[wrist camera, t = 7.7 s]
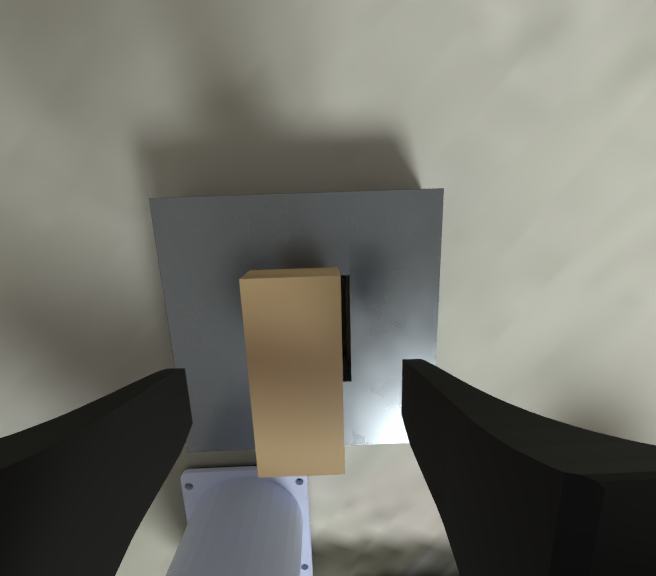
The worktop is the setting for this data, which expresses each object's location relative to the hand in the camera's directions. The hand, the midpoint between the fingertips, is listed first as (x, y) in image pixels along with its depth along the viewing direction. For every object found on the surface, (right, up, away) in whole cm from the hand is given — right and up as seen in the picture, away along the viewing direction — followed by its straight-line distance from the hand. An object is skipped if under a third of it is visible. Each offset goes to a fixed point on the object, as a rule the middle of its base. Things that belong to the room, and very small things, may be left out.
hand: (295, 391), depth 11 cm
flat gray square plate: (0, +2, +8) cm, 8 cm away
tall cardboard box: (0, +2, +8) cm, 8 cm away
